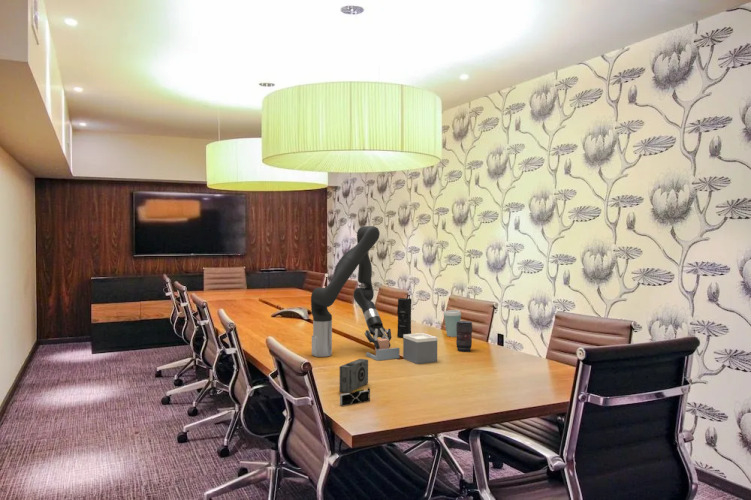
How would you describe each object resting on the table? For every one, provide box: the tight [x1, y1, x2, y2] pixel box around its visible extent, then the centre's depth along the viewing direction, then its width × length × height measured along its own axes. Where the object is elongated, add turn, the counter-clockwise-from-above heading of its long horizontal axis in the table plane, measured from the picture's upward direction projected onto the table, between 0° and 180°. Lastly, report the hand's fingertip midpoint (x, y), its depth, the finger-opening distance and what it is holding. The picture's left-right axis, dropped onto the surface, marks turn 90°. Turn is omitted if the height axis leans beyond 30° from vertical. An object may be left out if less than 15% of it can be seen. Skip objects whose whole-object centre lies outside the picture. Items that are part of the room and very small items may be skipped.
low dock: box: [365, 347, 401, 362], centre depth 262 cm, size 12×12×5 cm
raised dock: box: [402, 332, 438, 365], centre depth 255 cm, size 11×13×12 cm
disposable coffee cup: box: [443, 309, 462, 338], centre depth 319 cm, size 11×11×15 cm
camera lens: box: [455, 320, 473, 353], centre depth 277 cm, size 8×8×15 cm
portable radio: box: [396, 294, 413, 339], centre depth 314 cm, size 8×6×25 cm
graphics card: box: [339, 387, 371, 407], centre depth 189 cm, size 12×3×5 cm, turn 121°
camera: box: [338, 358, 369, 394], centre depth 207 cm, size 16×4×10 cm, turn 151°
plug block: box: [374, 338, 390, 356], centre depth 262 cm, size 5×5×8 cm
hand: (383, 347), depth 260 cm, fingers closed on plug block, 5 cm apart
